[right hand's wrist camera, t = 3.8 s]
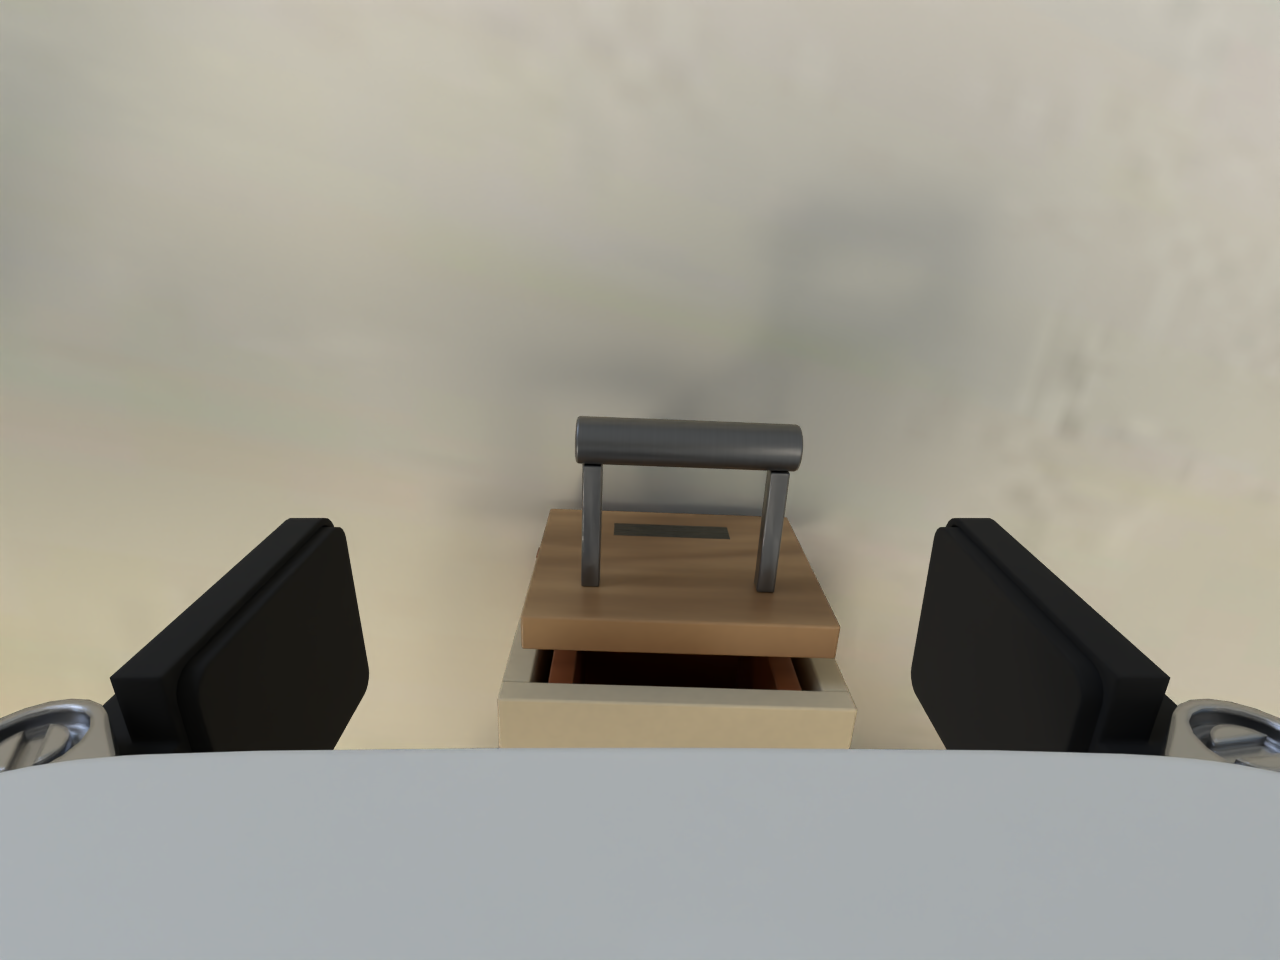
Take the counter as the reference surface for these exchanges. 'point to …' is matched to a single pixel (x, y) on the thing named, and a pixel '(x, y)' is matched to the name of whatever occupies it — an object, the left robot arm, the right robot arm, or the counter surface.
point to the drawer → (678, 570)
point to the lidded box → (670, 710)
